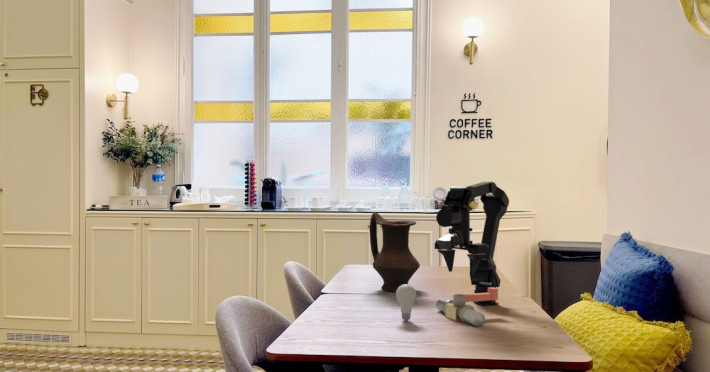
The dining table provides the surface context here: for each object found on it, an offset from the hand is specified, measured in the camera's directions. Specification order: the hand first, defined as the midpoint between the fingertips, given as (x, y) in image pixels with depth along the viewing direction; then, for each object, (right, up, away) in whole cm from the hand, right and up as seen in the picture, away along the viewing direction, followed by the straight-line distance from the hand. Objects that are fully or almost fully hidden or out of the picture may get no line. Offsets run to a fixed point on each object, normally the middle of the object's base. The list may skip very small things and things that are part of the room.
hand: (461, 273), depth 179 cm
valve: (-2, -12, -9) cm, 16 cm away
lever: (+3, -8, -7) cm, 11 cm away
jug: (-19, -13, +39) cm, 45 cm away
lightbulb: (-19, -12, -13) cm, 26 cm away
